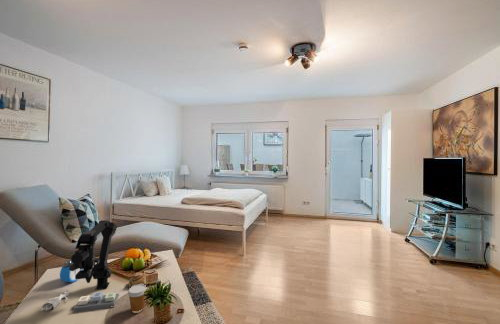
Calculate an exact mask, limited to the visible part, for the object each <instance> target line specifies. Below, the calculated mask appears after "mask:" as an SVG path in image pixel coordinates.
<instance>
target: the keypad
mask: <svg viewBox="0 0 500 324" xmlns="http://www.w3.org/2000/svg"><path fill="white" fill-rule="evenodd" d="M106 295H107V294H106ZM106 295H105V294H103V297H102V299H101V300H98V301H92V296H90V300H89V302H88V304H84V305H78V304H76V306H74V307H73V313H80V312H81V313H82V312H88V311H95V310H102V309H103V310H104V309H110V308H109V307H111V306H114V304H115V305H116V303H115V302H117V301H118V298H119V296H120V295H119V293H116V297H115V299H114V301H107V302H105V297H106ZM116 300H117V301H116ZM114 307H115V306H114ZM111 308H112V307H111Z"/></svg>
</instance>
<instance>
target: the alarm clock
mask: <svg viewBox="0 0 500 324" xmlns="http://www.w3.org/2000/svg"><path fill="white" fill-rule="evenodd" d="M72 263H73V262H72V261H71V259H67V260H65V261H63V263H62V266H61V269H60V272H59V278H60V280H61V282H64V283H70V284H72V283H75V282H76V281H77V280H78V279H75V275H76V274H77V273H78V272H79V271H80V270H83V269H80V268H79V269H76V270H74V271H70V270H69V266H70V265H71V264H72Z"/></svg>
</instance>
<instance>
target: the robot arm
mask: <svg viewBox="0 0 500 324" xmlns="http://www.w3.org/2000/svg"><path fill="white" fill-rule="evenodd" d="M117 229H118V226H117V224H116V223H114V222H112V221H110V220H107V219H105V220H99V221H98V222H97V223H96V225H94V227H92V228H91V229H90V230H88V231H85V232H83V233H81V234H80V235H79V237H78V239H77V242H76V245H75V249H76V250H75V251H74V254H73V255H71V258H70V260H71V261H72V262H73V263H72V264H71V265H70V266H69V270H70V271H74V270H76V269H79V268H80V269H83V270H80V271H79V272H78V273H77V274H76V275H75V279H77V280H82V279H83V280H85V281H86V283H87V284H89V283H91V280H92V278H93V280H96V286H95V289H94V290H95V291H97V290H105V289H108V287H109V285H110V281H109V278H110V277H111V275H112V270H111V269H110V264H109V262H108V258H109V253H110V249H111V248H110V247H111V241H112V238H113V237H114V235H115V234H116V232H117ZM100 234H101V235H102V241H101V244H100V245H101V246H100V251H99V257H96V254H95V245H96V242H97V240H98V236H99V235H100ZM108 281H109V282H108Z"/></svg>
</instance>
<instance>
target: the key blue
mask: <svg viewBox="0 0 500 324" xmlns="http://www.w3.org/2000/svg"><path fill="white" fill-rule="evenodd" d="M103 295H104V291H100V292H98V291H97V292H94V293H93V294H92V295H91V297H92V301H98V300H101V299H102V297H103Z"/></svg>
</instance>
